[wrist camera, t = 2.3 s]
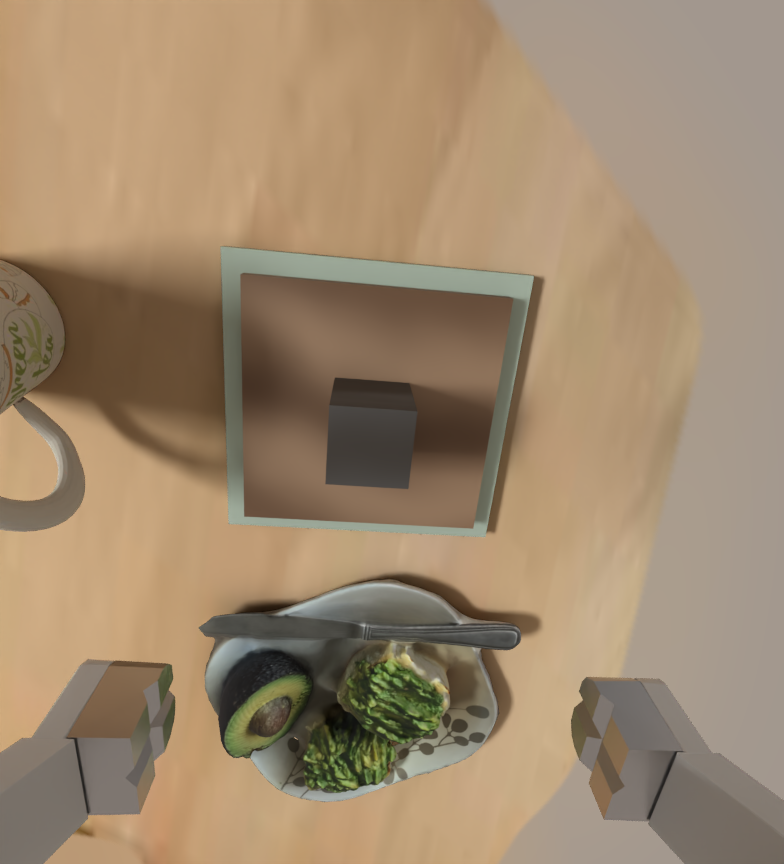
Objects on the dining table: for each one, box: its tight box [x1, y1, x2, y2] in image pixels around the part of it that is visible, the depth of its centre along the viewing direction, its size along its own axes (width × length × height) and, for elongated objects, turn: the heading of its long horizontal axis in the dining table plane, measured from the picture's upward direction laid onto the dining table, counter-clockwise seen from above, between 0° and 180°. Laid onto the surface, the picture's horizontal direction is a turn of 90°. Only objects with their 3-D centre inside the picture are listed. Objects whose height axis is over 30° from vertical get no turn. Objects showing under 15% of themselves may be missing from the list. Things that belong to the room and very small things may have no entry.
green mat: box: [221, 246, 534, 537], centre depth 26 cm, size 14×14×1 cm
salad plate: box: [199, 579, 521, 802], centre depth 31 cm, size 19×18×5 cm
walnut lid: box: [240, 273, 513, 529], centre depth 23 cm, size 12×12×5 cm
